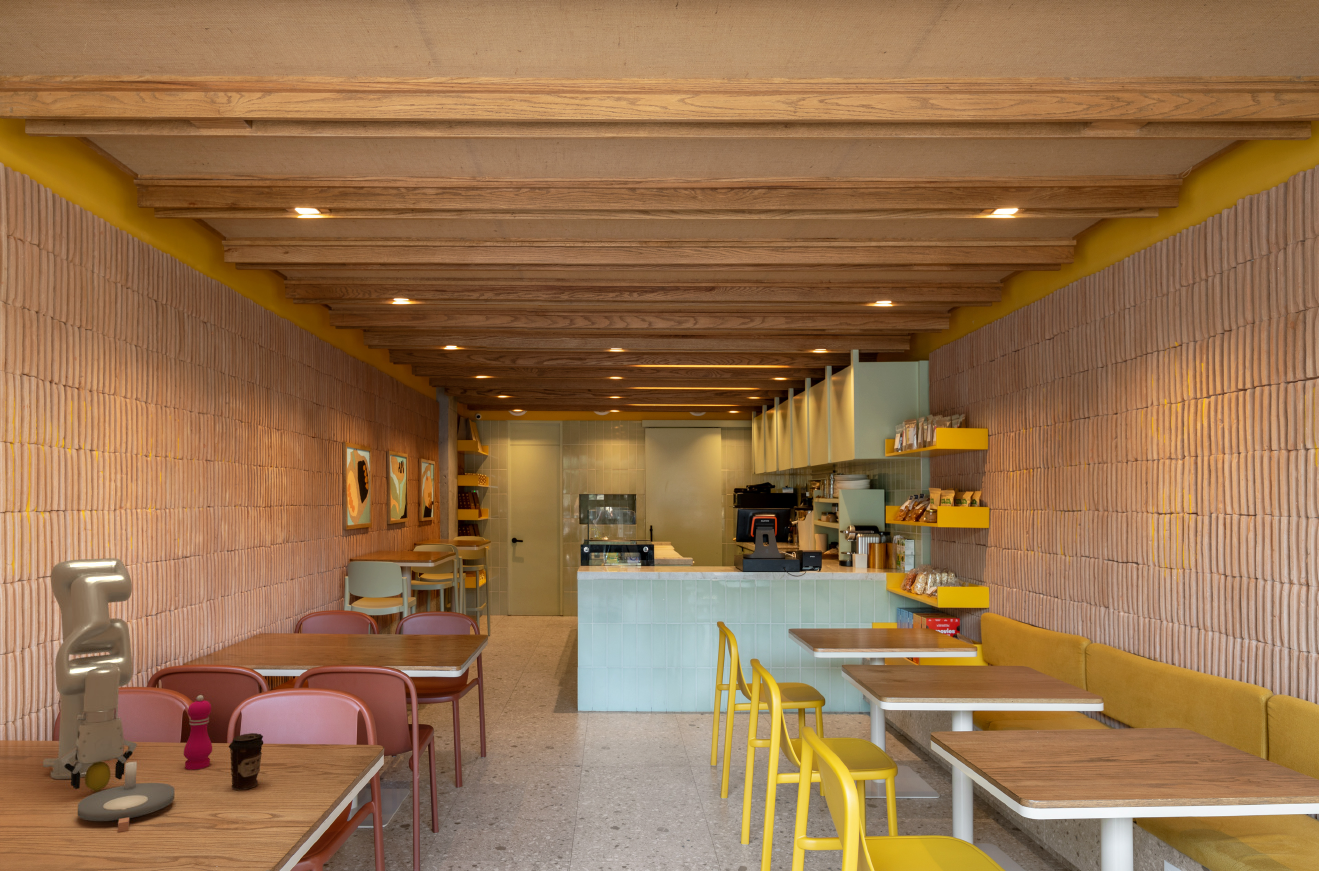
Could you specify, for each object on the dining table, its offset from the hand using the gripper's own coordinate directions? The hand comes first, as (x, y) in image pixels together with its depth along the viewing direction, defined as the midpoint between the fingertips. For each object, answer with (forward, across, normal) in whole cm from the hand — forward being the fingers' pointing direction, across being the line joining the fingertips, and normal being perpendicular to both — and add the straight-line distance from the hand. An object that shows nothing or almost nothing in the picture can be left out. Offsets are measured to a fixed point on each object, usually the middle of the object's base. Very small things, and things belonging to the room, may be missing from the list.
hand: (97, 783), depth 217 cm
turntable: (+1, 0, -21) cm, 21 cm away
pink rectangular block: (+3, -4, -33) cm, 33 cm away
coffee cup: (+3, +27, -25) cm, 37 cm away
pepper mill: (+3, +25, +3) cm, 26 cm away
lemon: (+3, 0, 0) cm, 3 cm away
